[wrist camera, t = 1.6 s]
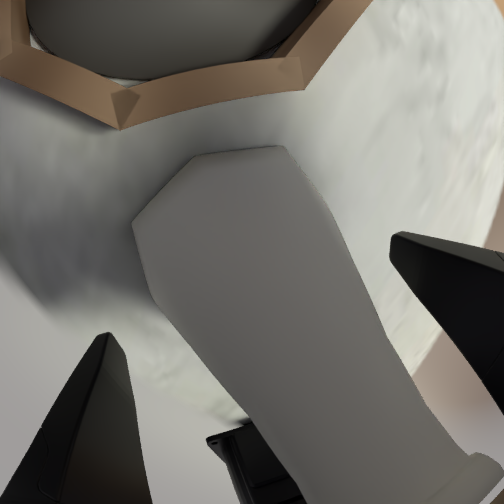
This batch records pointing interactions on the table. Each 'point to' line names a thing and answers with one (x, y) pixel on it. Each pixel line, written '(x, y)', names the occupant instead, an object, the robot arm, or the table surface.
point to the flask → (297, 333)
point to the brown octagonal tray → (167, 50)
